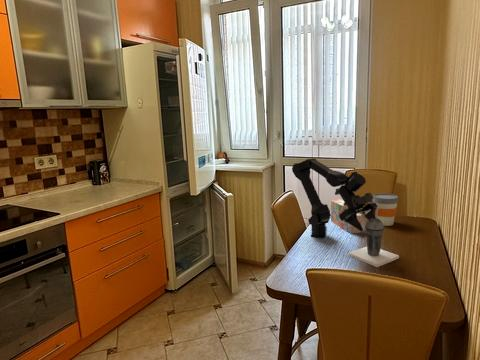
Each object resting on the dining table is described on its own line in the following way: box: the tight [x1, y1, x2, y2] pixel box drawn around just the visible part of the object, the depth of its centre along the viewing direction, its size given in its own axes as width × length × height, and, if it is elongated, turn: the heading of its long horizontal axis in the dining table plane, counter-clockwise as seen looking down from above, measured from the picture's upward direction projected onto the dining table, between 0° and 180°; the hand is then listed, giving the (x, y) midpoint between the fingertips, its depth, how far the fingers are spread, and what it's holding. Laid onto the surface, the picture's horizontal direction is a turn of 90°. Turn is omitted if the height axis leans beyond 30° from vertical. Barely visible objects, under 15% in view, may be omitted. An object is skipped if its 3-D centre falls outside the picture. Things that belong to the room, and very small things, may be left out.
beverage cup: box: [365, 207, 385, 256], centre depth 142 cm, size 7×7×20 cm
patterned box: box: [330, 199, 363, 234], centre depth 181 cm, size 21×6×12 cm, turn 12°
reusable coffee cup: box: [372, 193, 399, 227], centre depth 184 cm, size 13×13×15 cm
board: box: [347, 246, 400, 268], centre depth 144 cm, size 14×14×1 cm
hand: (369, 228), depth 143 cm, fingers open, 9 cm apart
